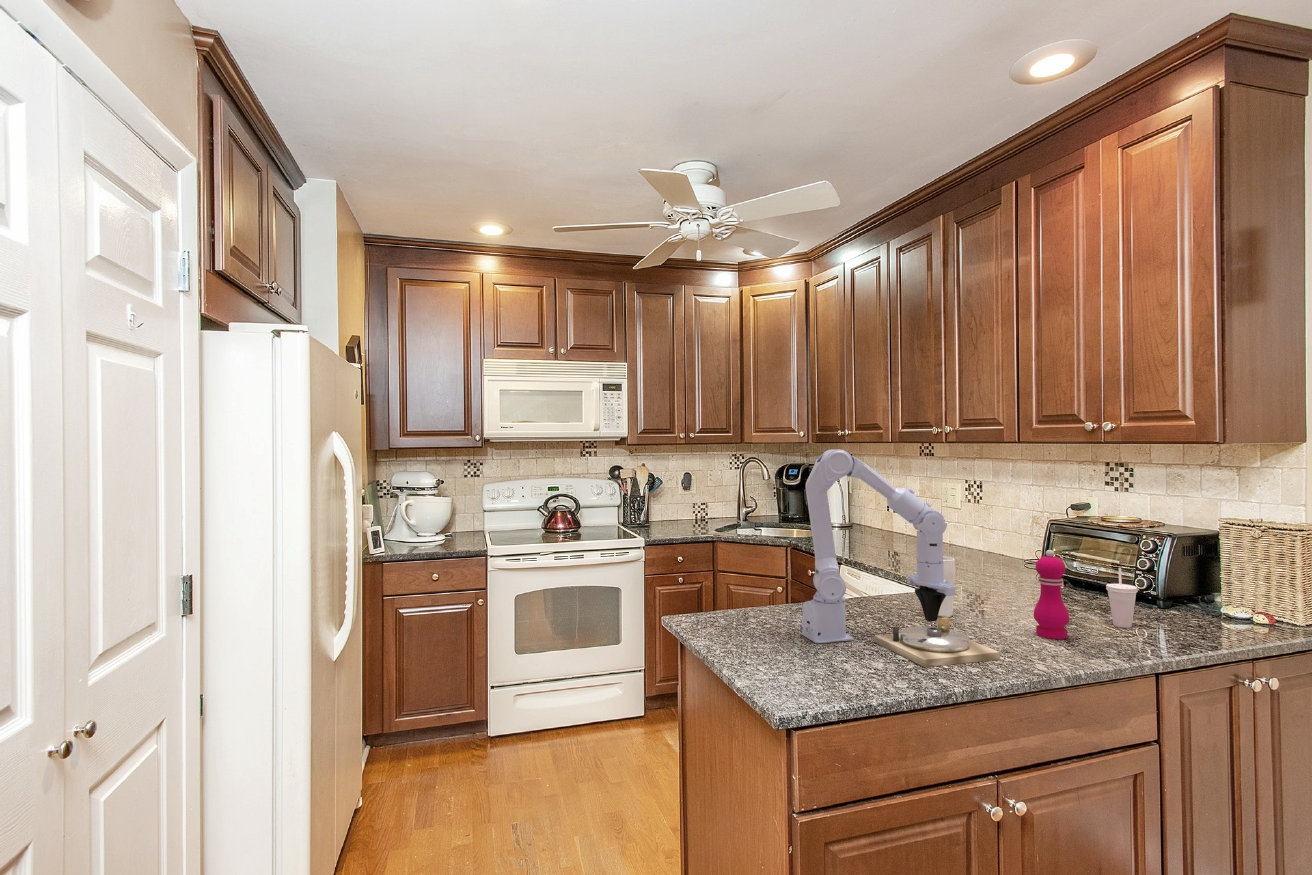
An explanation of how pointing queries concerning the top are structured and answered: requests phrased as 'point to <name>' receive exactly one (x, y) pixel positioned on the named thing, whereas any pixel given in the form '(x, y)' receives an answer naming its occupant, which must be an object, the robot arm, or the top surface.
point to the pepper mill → (1051, 598)
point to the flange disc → (935, 637)
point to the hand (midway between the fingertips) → (931, 620)
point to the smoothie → (1122, 602)
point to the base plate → (933, 657)
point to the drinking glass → (949, 575)
